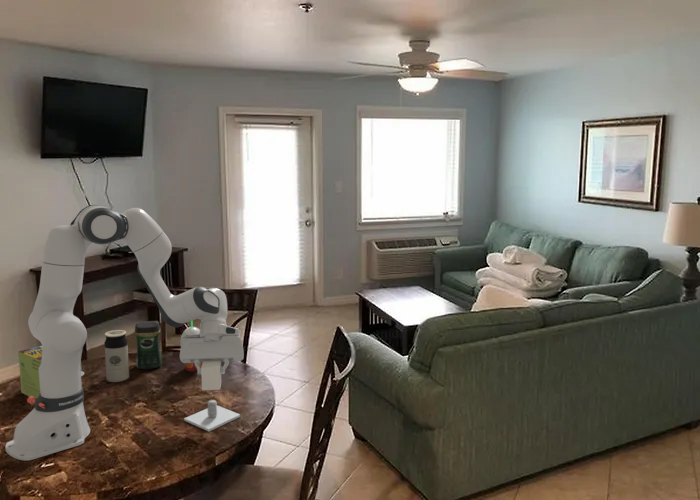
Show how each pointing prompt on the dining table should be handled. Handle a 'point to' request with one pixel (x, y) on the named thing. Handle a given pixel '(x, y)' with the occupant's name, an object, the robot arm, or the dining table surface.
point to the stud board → (211, 421)
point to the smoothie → (191, 331)
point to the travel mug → (116, 356)
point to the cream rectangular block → (211, 375)
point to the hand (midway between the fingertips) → (211, 373)
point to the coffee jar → (148, 345)
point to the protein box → (30, 371)
